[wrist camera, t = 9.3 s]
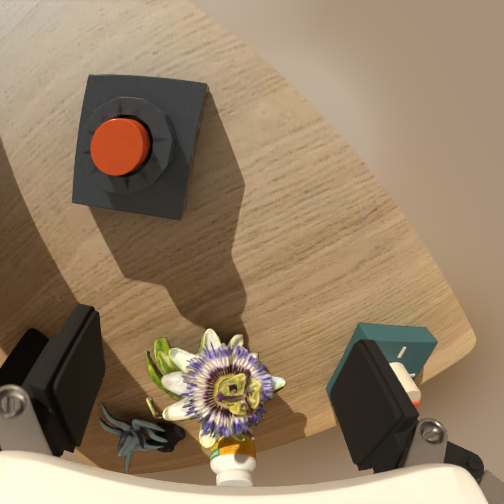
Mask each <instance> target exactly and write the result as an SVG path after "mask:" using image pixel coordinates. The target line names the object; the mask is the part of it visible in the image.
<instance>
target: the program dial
mask: <svg viewBox="0 0 504 504" xmlns="http://www.w3.org/2000/svg"><path fill="white" fill-rule="evenodd" d="M389 364H390V366H391V367H392V369H393V371H394V372H395V374H396V376H397V377H398V379H399V381H400V382H401V384H402V386H403V387H404V389H405V391H406V392H407V394H408V396H409V397H410V399H411V401H412V403H413V404H414V406H415V407H417V406H418V405H419V400H420V397H421V393H420V391H419V389H418V388H417V386H416V385H415V383H414V381H413V380H412V378H411V377H410V375H409V373H408V372H407V370H406V369H405V367H404V365H403V364H401V363H399V362H393V363H389Z"/></svg>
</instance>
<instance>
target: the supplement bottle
mask: <svg viewBox="0 0 504 504" xmlns="http://www.w3.org/2000/svg"><path fill="white" fill-rule="evenodd" d="M248 431H249V432H250V433H251V434H252V435H253V426H251V427H250V428H248ZM253 436H254V435H253ZM210 465H211V469H212V470H213V471H214V472H215V473H216V474H217V477H216V483H217V486H230V487H252V485H253V479H252V478H253V477H252V475H251V473H252V472H253V471H254V470H255V469H256V465H257V462H256V453H255V445H254V439H253V440H251V439H249V438H248V437H247V436H246V435H245V440H244V441H238V440H236V439H234V437H232V436H231V435H230V436H228V437H227V438H224V437H222V438H221V439H219V440H218V441H217V442H216V443H215V445H214V446H212V447H211V449H210Z"/></svg>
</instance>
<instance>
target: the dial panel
mask: <svg viewBox="0 0 504 504" xmlns="http://www.w3.org/2000/svg"><path fill="white" fill-rule="evenodd" d="M360 339H372V340H375V342H376V343H377V345H378V346H379V348H380V349H381V351H382V353H383V354H384V356H385V358H386V359H387V361H388V362H389V363H393V362H399V363H401V364H403V365H404V367H405V369H406V370H407V372H408V373H409V375H410V377H411V378H412V380H413V381H414V380H415V378H416V377H417V375H418V374H419V372H420V371H421V369H422V367H423V366H424V364H425V363H426V361H427V360H428V358H429V356H430V355H431V353H432V351H433V350H434V348H435V346H436V345H437V343H438V341H437V340H436V339H435V338H434V336H433V335H432V334H431V333H430V332H429V330H428V329H427V328H426V327H408V326H393V325H379V324H366V323H359V324H358V326H357V328H356V330H355V332H354V334H353V336H352V338H351V341H350V343H349V345H348V347H347V349H346V351H345V353H344V355H343V357H342V359H341V361H340V363H339V365H338V367H337V368H336V370H335V372H334V374H333V376H332V378H331V380H330V382H329V384H328V385H327V387H326V390H327V392H328V395H329V398H330V390H331V388H332V386H333V384H334V382H335V380H336V378H337V377H338V375H339V373H340V371H341V369H342V367H343V365H344V363H345V361H346V359H347V357H348V355H349V353H350V351H351V349H352V346H353V345H354V344H355V343H357V342H358V340H360ZM330 401H331V399H330ZM331 404H332V402H331ZM332 406H333V404H332Z"/></svg>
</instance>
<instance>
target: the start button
mask: <svg viewBox="0 0 504 504" xmlns="http://www.w3.org/2000/svg"><path fill="white" fill-rule="evenodd" d="M149 149H150V138H149V135H148V132H147V131H146V129H145V128H144V126H143V125H142V124H140V123H139V122H137V121H135V120H132V119H121V118H117V119H112V120H109V121H107V122H105V123H103V124H102V125H101V126H100V127H99V128H98V129H97V130H96V132H95V134H94V136H93V138H92V141H91V156H92V159H93V162H94V163H95V165H96V166H97V168H98V169H99V170H100V171H102V172H103V173H105V174H108V175H111V176H120V175H124V174H126V173H128V172H130V171H132V170H134V169H136V168H138V167H139V166H140V165H141V164H142V163H143V162H144V161H145V159H146V158H147V156H148V153H149Z"/></svg>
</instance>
